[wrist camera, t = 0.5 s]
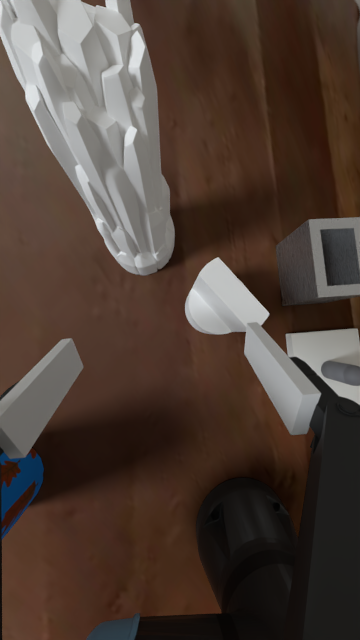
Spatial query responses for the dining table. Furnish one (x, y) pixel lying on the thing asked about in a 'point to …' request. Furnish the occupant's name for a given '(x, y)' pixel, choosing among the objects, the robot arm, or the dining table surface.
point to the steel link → (320, 262)
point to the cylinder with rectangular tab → (221, 302)
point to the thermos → (18, 486)
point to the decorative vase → (97, 116)
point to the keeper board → (331, 358)
